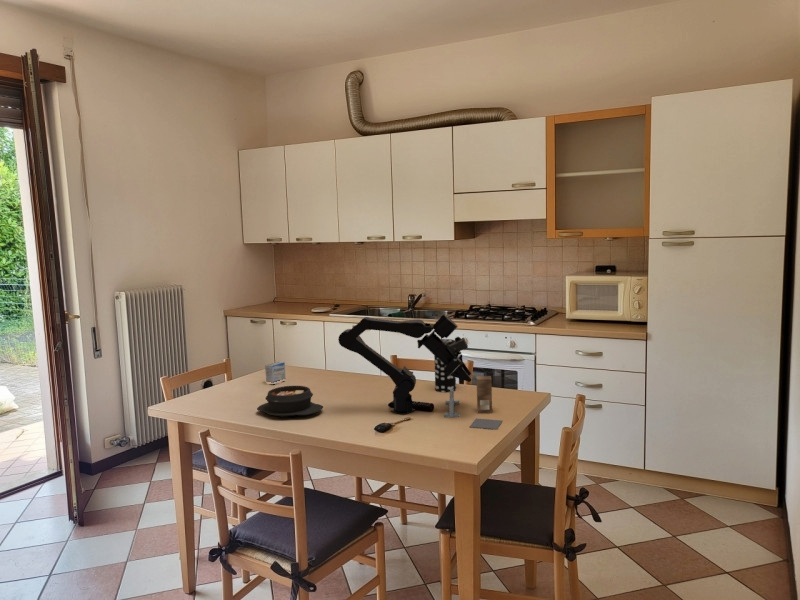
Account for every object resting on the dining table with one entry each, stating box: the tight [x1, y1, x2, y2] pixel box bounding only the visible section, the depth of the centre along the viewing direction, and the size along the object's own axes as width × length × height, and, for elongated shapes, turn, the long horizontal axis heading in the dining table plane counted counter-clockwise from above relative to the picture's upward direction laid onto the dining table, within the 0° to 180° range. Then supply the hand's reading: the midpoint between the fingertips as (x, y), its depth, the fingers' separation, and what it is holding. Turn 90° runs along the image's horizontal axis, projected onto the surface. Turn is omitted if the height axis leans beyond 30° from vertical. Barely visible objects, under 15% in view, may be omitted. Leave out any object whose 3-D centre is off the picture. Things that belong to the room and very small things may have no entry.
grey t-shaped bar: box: [443, 389, 460, 418], centre depth 214 cm, size 18×5×5 cm, turn 174°
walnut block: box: [476, 375, 493, 414], centre depth 211 cm, size 5×5×12 cm
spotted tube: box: [433, 338, 457, 393], centre depth 241 cm, size 8×8×20 cm
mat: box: [469, 418, 503, 430], centre depth 196 cm, size 9×9×1 cm
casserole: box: [256, 385, 324, 417], centre depth 217 cm, size 25×19×8 cm
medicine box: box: [264, 361, 287, 383], centre depth 264 cm, size 8×4×9 cm, turn 147°
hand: (470, 377), depth 210 cm, fingers open, 9 cm apart
